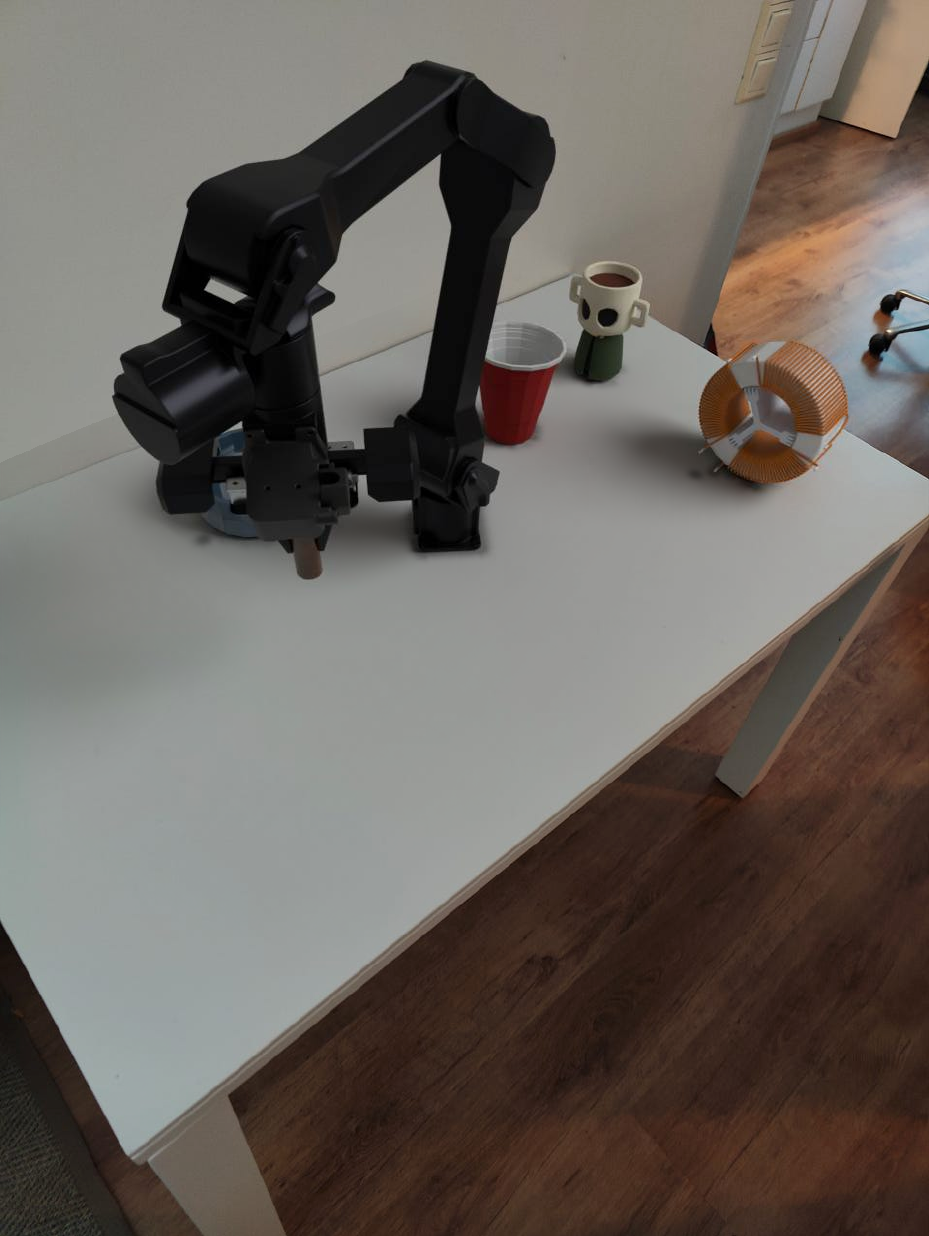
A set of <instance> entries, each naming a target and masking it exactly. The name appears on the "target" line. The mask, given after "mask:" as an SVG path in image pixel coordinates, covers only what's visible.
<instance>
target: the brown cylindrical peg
mask: <svg viewBox="0 0 929 1236" xmlns="http://www.w3.org/2000/svg"><path fill="white" fill-rule="evenodd" d="M291 544H292V549H293V553H292V555H293V561H294V565H295V570H296V574H297V576H298V577H299V578H301V579H303V580H306V581H309V580H315V579H317V578H319V577H320V576H321V575H322V574H323V572H324V566H323V559H322V553H321V552H322V551H319V548H318V542H317V538H314V539H302V538H300V539H291Z"/></svg>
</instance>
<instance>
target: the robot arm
mask: <svg viewBox="0 0 929 1236" xmlns="http://www.w3.org/2000/svg"><path fill="white" fill-rule="evenodd" d="M556 147H557V146H556V142H555V138H554V136H551V131H550V125H549V123H548V122H547V120H546V118H544V117H543V116H541V115H538V114H534V113H532V112H528V111H524V110H522V109H520V108H519V107H517V106H516V105H514V104H512V103H511V102H509V101H508V100H507V99H505V98H504V97H502V96H500V95H498V94H497V93H495V92H494V91H493V90H492V89H491V88H490V87H489V86H488V85H487V84H486V83H485V82H484V81H483V80H481V79H479V78H478V77H477V76H476V74H475V73H474V72H471V71H468V70H464V69H460V68H457V67H453V66H449V65H447V64H443V63H439V62H435V61H432V60H428V59H425V60H422V61H420V62H419V61H417V62H414V63H412V64H410V66H408V68H407V69H406V70H405V72H404V74H403V76H402V79H400V80H399V81H397V82H396V83H395V84H393V85H391V87H389V88H388V89H386V90H384V91H383V92H382V93H381V94H379V95H378V96H377V97H374V99H372V100H371V101H369V102H368V103H366V104H365V105H363V106H362V107H361V108H360V109H358V110H356V111H355V112H353V114H350V115H349V116H348V117H346V118H345V119H344V120H342V121H340V122H339V123H338V124H337V125H335V126H334V127H332V128H331V129H330V130H328V131H327V132H326V133H324V134H322V135H321V136H320V137H318V138H317V139H316V140H314V141H313V142H311V143H310V144H308V145H307V146H306V147H304V148H303V149H302V150H300V151H299V152H296V153H293V154H292V155H289V156H286V157H284V158H278V159H271V160H270V159H269V160H263V161H257V162H256V161H253V162H248V163H244V164H242V165H239V166H236V167H234V168H232V169H229V170H226V171H224V172H222V173H219V174H217V175H214V176H212V177H209V178H207V179H206V180H203V181H202V182H201V183H200V184H199V185H198V186H197V187H196V188H194V190H193V191H192V192H191V193H190V195H189V197H188V198H187V200H186V203H185V206H186V209H187V211H186V215H185V219H184V222H183V226H182V231H181V233H180V234H181V235H180V236H179V237H180V238H179V240H178V244H177V247H176V252H175V254H174V260H173V263H172V266H171V270H170V274H169V276H168V277H169V278H168V281H167V284H166V289H165V292H164V296H163V300H162V303H161V309H162V311H163V312H165V313H167V314H168V315H171V316H173V317H175V318H176V319H179V322H180V326H178V327H176V328H175V329H173V330H171V331H169V332H167V333H165V334H163V335H161V336H159V337H157V338H155V339H153V340H152V341H150V342H147V343H142V344H138V345H136V346H134V347H132V348H130V349H128V350H126V351H125V352H122V353H121V354H120V355H119V356H120V357H119V362H120V365H121V367H122V371H123V372H122V373H120V374H118V375H117V376H116V377H115V379H114V380H113V395H111V398H112V402H113V405H114V407H115V409H116V412H117V414H118V416H119V418H120V419H121V421H122V423H123V425H124V426H125V428H126V429H127V431H128V432H129V433H130V435H131V437H133V439H134V440H135V441H136V442H137V443H138V444H139V446H140V447H141V448H142V449H144V451H145V452H146V453H147V454H149V455H150V456H151V457H152V458H154V459H155V460H157V461H158V468H157V471H156V472H157V473H156V478H155V488H156V494H157V498H158V500H159V504H160V506H161V509H162V511H163V512H165V513H166V514H168V515H169V516H173V515H190V514H201V513H206V512H207V511H208V510H209V509H210V508H211V507H212V506H213V505H214V504H215V495H214V492H213V484H214V483H226V491H227V492H228V493H229V495H230V512H231V513H232V514H233V515H235V516H249V519H250V521H251V524H252V526H253V529H254V531H255V534H256V536H257V538H258V539H259V540H261V541H262V542H267V543H268V542H269V543H271V542H278V544H279V545H280V546H281V547H282V549H283V550H284V551H285V552H286V553H287V554H288V555H289V554H293V549H292V544H291V539H300V538H302V539H314V538H317V542H318V548H319V551H320V552H325V550H326V546H327V543H328V541H329V538H330V535H331V531H332V528H333V525H338V523H339V520H338V519H339V517H343V516H350V515H351V513H352V510H354V509H356V508H357V507H358V505H359V504H360V503H359V502H360V501H359V498H360V497H359V483H360V481H359V476H365V478H366V480H365V481H366V491H367V496H369V497H370V498H372V499H373V500H375V501H376V502H378V503H391V502H407V501H411V502H410V505H411V526H412V534H413V535H414V536H416V538H417V547H418V551H420V552H422V553H423V552H443V551H445V552H446V551H464V550H465V551H466V550H479V549H480V548H481V547H482V540H481V535H480V513H481V508H482V507H483V508H486V507H488V505H490V499H491V494H493V493H494V492H495V491H496V488H497V485H498V482H499V478H500V474H501V471H500V470H498V469H496V468H495V467H493V466H491V465H489V464H486V463H485V462H483V457H484V449H485V444H486V443H485V441H486V436H485V432H484V429H483V426H482V423H481V420H480V417H479V413H478V410H477V406H476V404H477V397H478V392H479V390H480V387H479V384H480V379H481V375H482V370H483V366H484V361H485V356H486V352H487V347H488V343H489V338H490V333H491V329H492V324H493V321H495V319H494V318H495V315H496V310H497V305H498V301H499V297H500V291H501V287H502V282H503V277H504V274H505V268H506V266H507V265H506V264H507V260H508V255H509V250H510V246H511V242H512V239H513V237H514V236H515V235H516V234H517V232H518V231H520V229H522V227H523V226H524V225H525V224H526V223H527V222H528V220H530V218H531V217H532V216H533V215H534V214H535V212H536V211H537V210H538V208H539V206H540V203H541V200H542V198H543V194H544V191H545V187H546V185H547V182H548V181H549V179H550V177H551V175H552V173H553V169H554V166H555V164H556V155H557V148H556ZM437 157H440V158H439V173H438V187H439V191H440V194H441V197H442V201H443V204H444V209H445V211H446V214H447V217H448V218H447V219H448V221H449V223H450V229H449V238H448V243H447V249H446V253H445V254H446V255H445V260H444V266H443V271H442V276H441V282H440V288H439V294H438V300H437V305H436V310H435V317H434V322H433V328H432V333H431V339H430V346H429V350H428V357H427V362H426V367H425V373H424V380H423V384H422V390H421V394H420V397H419V398H418V399H417V401H415V402H414V404H412V406H411V407H410V408H408V410H407V411H406V412H405V413H399V414H398V415H397V416H396V417H395V419H394V421H393V426H385V427H367V428H366V427H364V428H362V432H363V433H362V434H363V448H355V443H354V441H353V440H342V441H341V440H340V441H339V440H338V441H328V432H327V425H326V417H325V410H324V402H323V393H322V387H321V379H320V371H319V370H320V369H319V362H318V354H317V346H316V339H315V331H314V323H313V316H314V315H316V314H317V313H319V312H321V311H323V310H325V309H326V308H328V307H330V306H331V305H333V304H334V303H335V301H336V293H335V292H334V291H331V290H329V289H327V288H326V287H324V286H322V285H321V284H320V283H319V282H320V281H321V280H322V279H323V278H324V277H325V275H326V274H327V273H328V272H329V271H330V270H331V269H332V268H333V267H334V266H335V264H336V263H337V261H338V257H339V252H340V249H341V248H340V247H341V243H342V238H343V235H344V234H345V232H347V230H348V229H349V228H351V226H352V225H354V223H355V222H356V221H358V220H359V219H360V218H362V217H363V216H364V215H365V214H367V213H369V211H370V210H372V209H373V208H374V207H375V206H377V205H378V204H379V203H381V202H382V201H383V200H384V199H385V198H387V197H388V196H389V195H391V194H392V193H393V192H394V191H396V190H397V189H398V188H400V187H401V186H402V185H404V183H406V182H407V181H408V180H410V179H411V178H412V177H414V176H415V175H416V174H417V173H419V172H420V171H421V170H422V169H424V168H425V167H426V166H427V165H429V164H430V163H432V162H433V161H434V160H435V159H436V158H437ZM211 280H212V281H214V282H216V283H219V284H221V285H223V286H225V287H227V288H230V289H232V290H233V291H236V292H238V293H240V294H242V295H245V296H244V297H242V298H241V299H239V300H237V301H235V302H234V303H233V302H231V301H229V300H227V299H225V298H222V297H220V296H218V295H216V294H214V293H212V292H210V291H208V290H205V289H206V288H207V287H208V284H209V283H210V281H211ZM240 423H241V428H242V429H243V433H244V434H243V437H244V441H245V443H244V448H243V452H238V453H234V454H233V456H220V457H218V456H219V455H220V454H221V448H220V444H219V440H218V438H217V437H218V436H219V435H221V434H223V433H225V432H227V431H230V429H232V428H234V427H235V426H236V425H239V424H240Z"/></svg>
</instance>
